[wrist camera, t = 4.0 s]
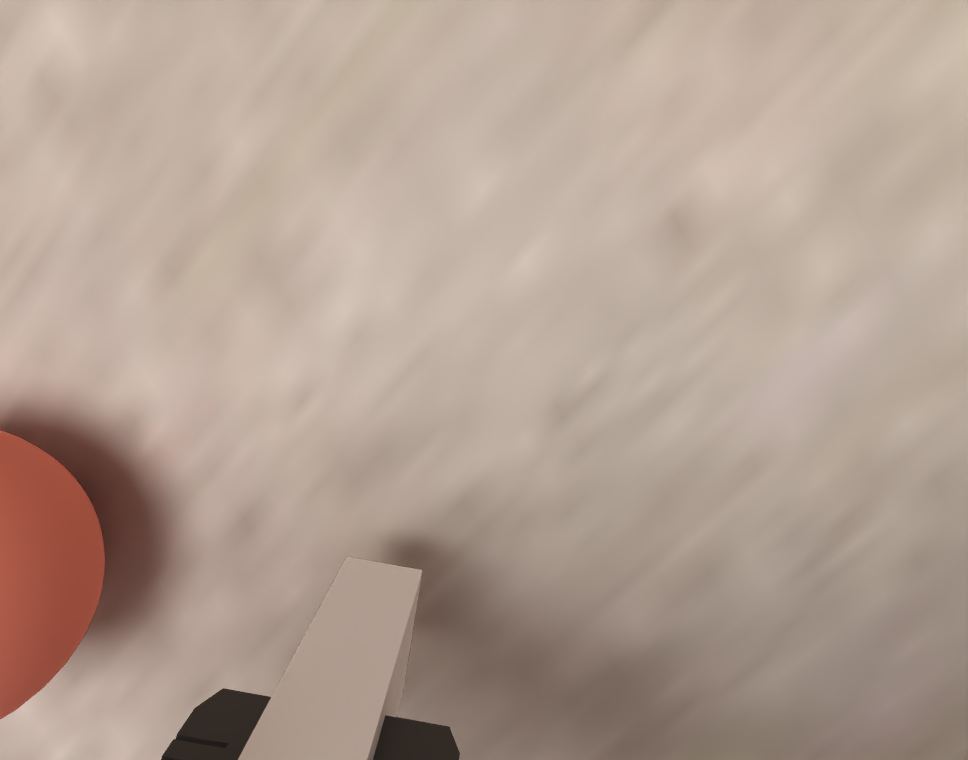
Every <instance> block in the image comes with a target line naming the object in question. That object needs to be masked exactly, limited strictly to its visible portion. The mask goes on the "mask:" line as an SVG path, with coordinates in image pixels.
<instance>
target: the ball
mask: <svg viewBox="0 0 968 760" xmlns="http://www.w3.org/2000/svg"><path fill="white" fill-rule="evenodd" d="M104 571H105V550H104V543H103V537H102V530H101V527H100V524H99V520H98V517H97V514H96V512H95V510H94V507H93V505H92V503H91V501H90V499H89V498H88V496H87V494H86V493H85V491H84V489H83V488H82V487H81V485H80V484H79V483H78V481H77V480H76V479H75V478H74V476H73V475H72V474H71V473H70V472H69V471H68V470H67V469H66V468H65V467H64V466H63V465H62V464H60V463H59V462H58V461H57V460H56V459H54V458H53V457H52V456H50V455H49V454H47V453H46V452H44V451H43V450H41V449H40V448H38V447H37V446H35V445H33V444H31V443H29V442H28V441H26V440H24V439H22V438H20V437H18V436H15V435H12V434H10V433H7V432H4V431H1V430H0V719H2V718H3V717H5V716H7V715H8V714H10V713H12V712H13V711H15V710H16V709H18V708H19V707H20V706H21V705H23V704H24V703H25V702H26V701H28V700H29V699H30V698H31V697H33V696H34V695H35V694H36V693H37V692H39V691H40V690H41V689H42V688H43V687H45V685H46V684H47V683H48V682H49V681H50V680H51V679H52V678H53V677H54V676H55V675H56V674H57V673H58V671H59V670H60V669H61V668H62V667H63V666H64V665H65V664H66V662H67V661H68V660H69V658H70V657H71V655H72V654H73V652H74V651H75V649H76V648H77V646H78V645H79V643H80V642H81V640H82V639H83V637H84V636H85V634H86V632H87V629H88V627H89V625H90V622H91V620H92V618H93V616H94V613H95V611H96V609H97V606H98V602H99V599H100V595H101V591H102V585H103V579H104Z"/></svg>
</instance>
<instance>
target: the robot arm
mask: <svg viewBox="0 0 968 760" xmlns="http://www.w3.org/2000/svg"><path fill="white" fill-rule="evenodd" d="M422 571H423V570H420V569H414V568H408V567H403V566H397V565H391V564H386V563H380V562H374V561H369V560H363V559H357V558H352V557H346V559H345V561H344V562H343V564H342V566H341V568H340V570H339V572H338V574H337V576H336V577H335V579H334V581H333V583H332V585H331V587H330V589H329V590H328V592H327V594H326V596H325V598H324V600H323V602H322V604H321V605H320V607H319V609H318V611H317V613H316V615H315V617H314V618H313V620H312V622H311V624H310V626H309V628H308V630H307V632H306V633H305V635H304V637H303V639H302V641H301V643H300V645H299V646H298V648H297V650H296V652H295V654H294V656H293V658H292V660H291V661H290V663H289V665H288V667H287V669H286V671H285V673H284V674H283V676H282V678H281V680H280V682H279V684H278V686H277V687H276V689H275V691H274V693H273V695H272V697H268V696H262V695H257V694H251V693H245V692H240V691H234V690H229V689H222V690H220V691H219V692H217V693H216V694H215V695H213V696H212V697H210V698H209V699H207V700H206V701H204V702H203V703H202V704H200V705H199V706H197V707H196V708H195V709H194V710H193V712H192V713H191V715H190V716H189V718H188V719H187V720H186V722H185V723H184V725H183V726H182V728H181V729H180V731H179V732H178V734H177V737H176V739H173V741H172V742H171V744H170V745H169V747H168V748H167V750H166V751H165V753H164V754H163V756H162V759H161V760H459V755H460V753H459V750H458V748H457V745H456V743H455V740H454V738H453V735H452V733H451V730H450V727H448V726H442V725H437V724H431V723H426V722H420V721H414V720H409V719H403V718H398V717H397V715H398V711H399V707H400V703H401V699H402V696H403V691H404V685H405V678H406V672H407V666H408V659H409V653H410V647H411V640H412V634H413V628H414V621H415V615H416V609H417V602H418V596H419V590H420V583H421V577H422Z"/></svg>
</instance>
